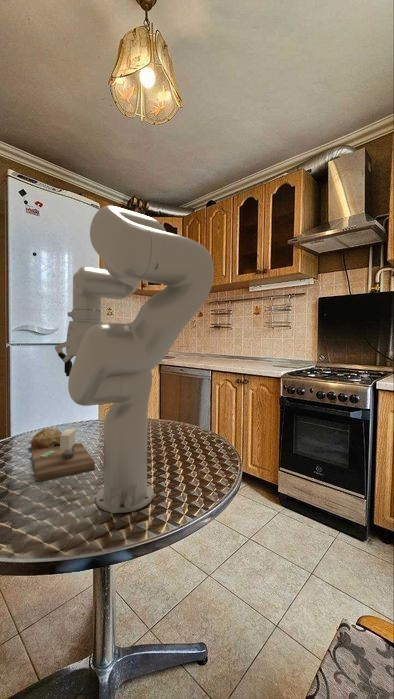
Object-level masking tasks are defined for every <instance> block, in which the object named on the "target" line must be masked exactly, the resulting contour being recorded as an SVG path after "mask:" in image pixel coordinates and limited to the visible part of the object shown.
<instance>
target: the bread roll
mask: <svg viewBox="0 0 394 699" xmlns="http://www.w3.org/2000/svg"><path fill="white" fill-rule="evenodd" d="M62 433H63V432H61V431H59V429H58V428H45V429H42V430H40V431H38V432H37V433H36V434H35V435H33V436H32V439H31V440H30V441H29V444H30V448H31V451H33V450H39V449H45V448H51V447H56V446H60V435H61V434H62Z"/></svg>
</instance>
